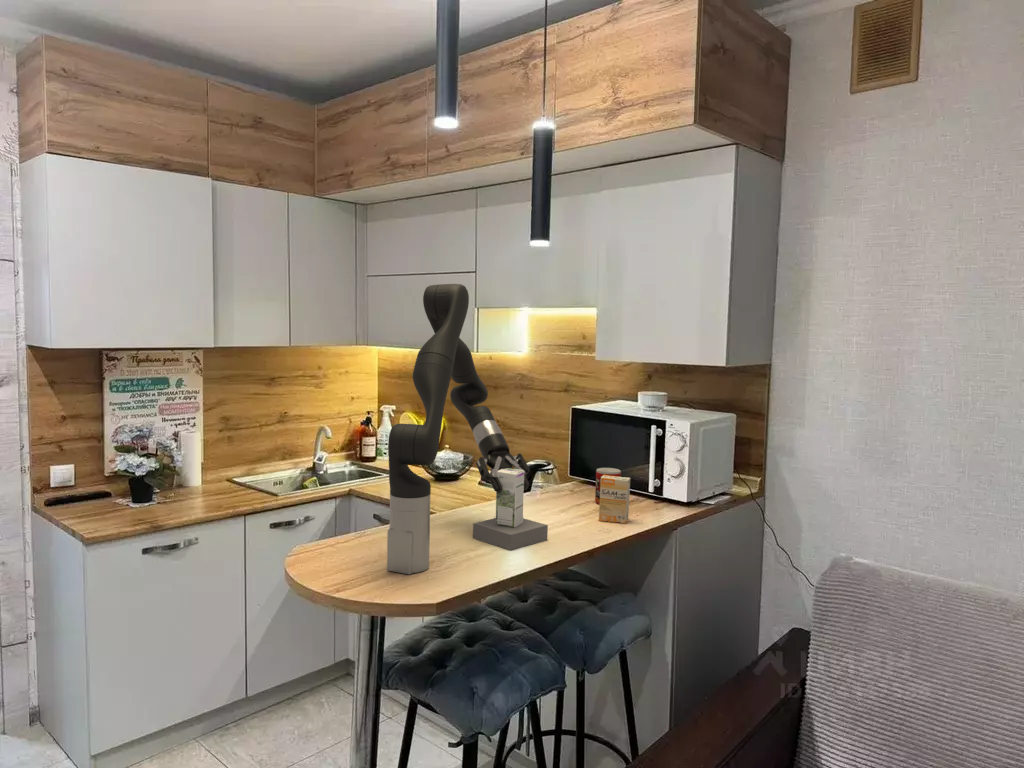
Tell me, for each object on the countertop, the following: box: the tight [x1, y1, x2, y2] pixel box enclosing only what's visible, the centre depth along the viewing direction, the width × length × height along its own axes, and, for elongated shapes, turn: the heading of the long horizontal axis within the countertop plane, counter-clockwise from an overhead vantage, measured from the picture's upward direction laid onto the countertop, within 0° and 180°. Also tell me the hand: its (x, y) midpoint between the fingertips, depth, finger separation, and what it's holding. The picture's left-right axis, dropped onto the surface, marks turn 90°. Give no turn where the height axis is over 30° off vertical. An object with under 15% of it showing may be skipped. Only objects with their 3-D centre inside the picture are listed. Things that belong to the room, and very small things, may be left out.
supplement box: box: [598, 475, 631, 524], centre depth 210 cm, size 8×5×13 cm, turn 71°
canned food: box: [594, 467, 622, 505], centre depth 232 cm, size 8×8×11 cm
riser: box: [472, 517, 549, 551], centre depth 189 cm, size 14×14×4 cm
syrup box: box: [495, 468, 525, 527], centre depth 189 cm, size 6×6×14 cm
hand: (513, 489), depth 188 cm, fingers open, 8 cm apart
